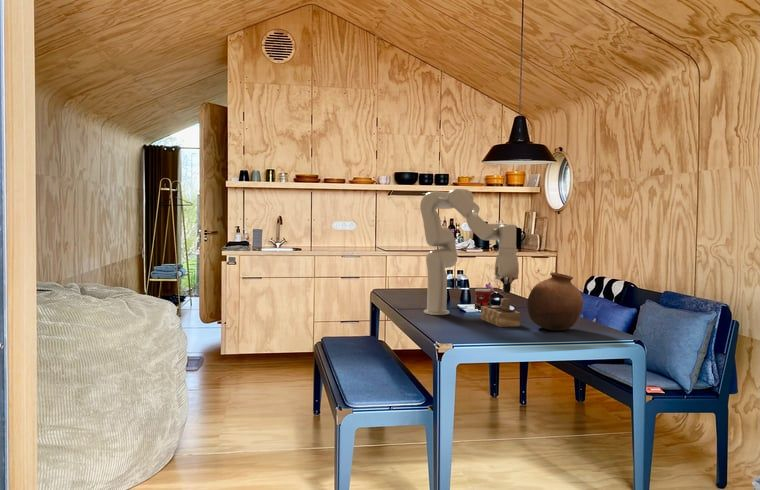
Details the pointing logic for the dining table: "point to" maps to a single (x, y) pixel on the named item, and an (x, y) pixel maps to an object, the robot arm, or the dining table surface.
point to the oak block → (500, 316)
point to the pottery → (555, 303)
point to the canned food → (482, 298)
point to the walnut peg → (505, 304)
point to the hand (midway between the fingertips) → (506, 292)
